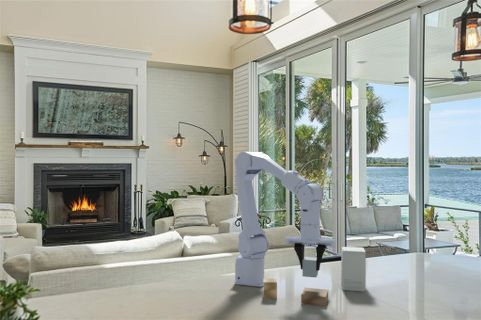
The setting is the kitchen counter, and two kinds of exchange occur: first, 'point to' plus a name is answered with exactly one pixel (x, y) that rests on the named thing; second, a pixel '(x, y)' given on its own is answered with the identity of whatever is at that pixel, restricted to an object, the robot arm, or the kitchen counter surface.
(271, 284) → the oak block
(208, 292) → the kitchen counter surface
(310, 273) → the slate block
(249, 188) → the robot arm
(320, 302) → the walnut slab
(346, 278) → the supplement box
